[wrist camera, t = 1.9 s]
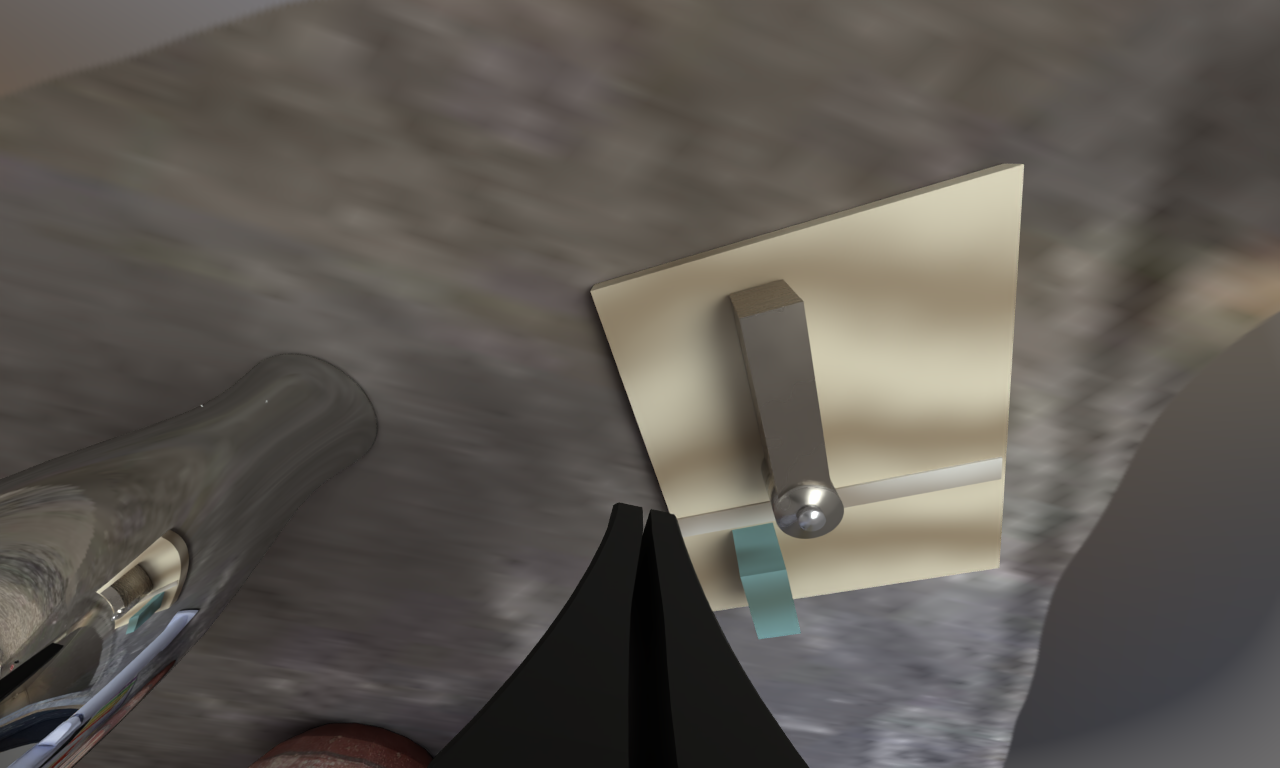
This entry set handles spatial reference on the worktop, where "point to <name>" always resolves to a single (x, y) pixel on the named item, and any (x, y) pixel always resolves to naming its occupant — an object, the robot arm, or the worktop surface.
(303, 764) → the pottery
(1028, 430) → the worktop surface
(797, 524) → the swing bar
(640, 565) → the robot arm
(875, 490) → the board
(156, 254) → the worktop surface
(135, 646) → the beer glass
